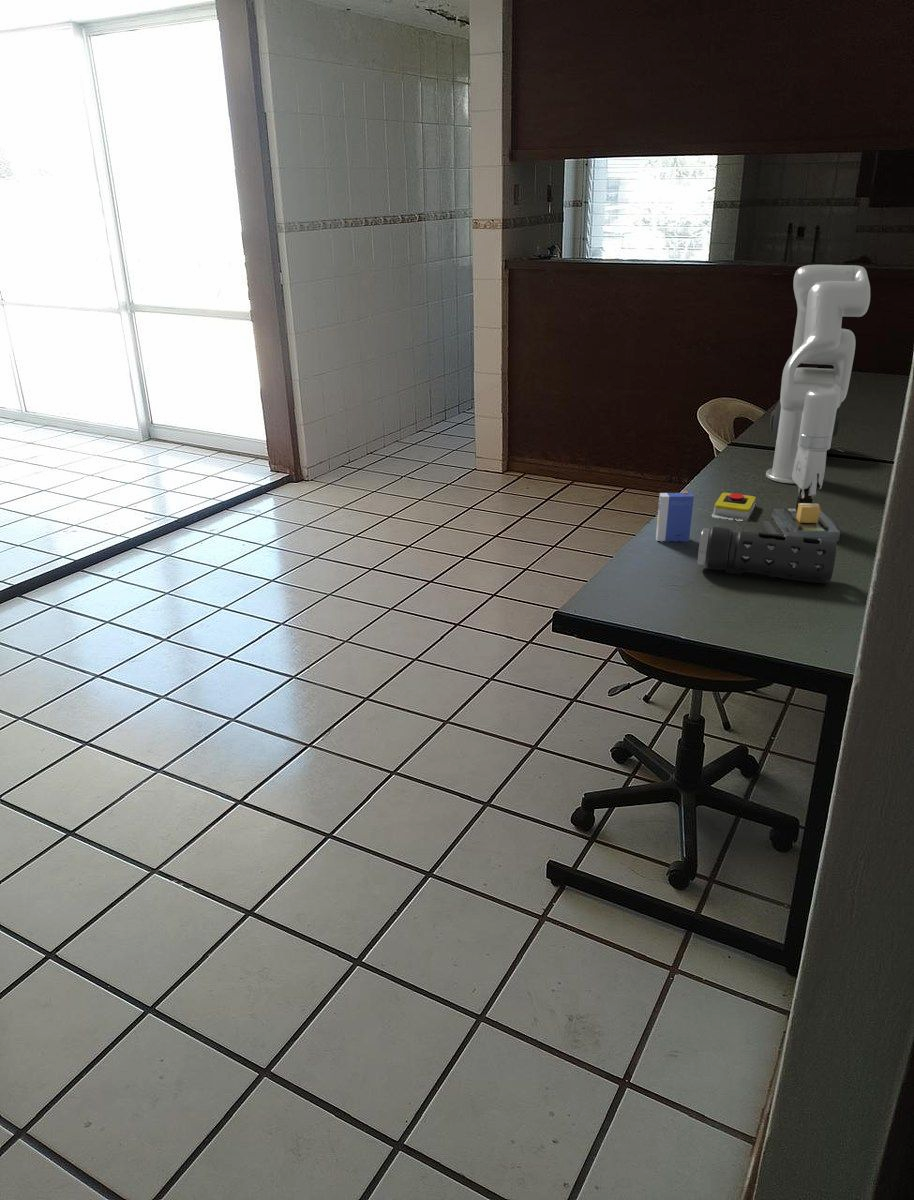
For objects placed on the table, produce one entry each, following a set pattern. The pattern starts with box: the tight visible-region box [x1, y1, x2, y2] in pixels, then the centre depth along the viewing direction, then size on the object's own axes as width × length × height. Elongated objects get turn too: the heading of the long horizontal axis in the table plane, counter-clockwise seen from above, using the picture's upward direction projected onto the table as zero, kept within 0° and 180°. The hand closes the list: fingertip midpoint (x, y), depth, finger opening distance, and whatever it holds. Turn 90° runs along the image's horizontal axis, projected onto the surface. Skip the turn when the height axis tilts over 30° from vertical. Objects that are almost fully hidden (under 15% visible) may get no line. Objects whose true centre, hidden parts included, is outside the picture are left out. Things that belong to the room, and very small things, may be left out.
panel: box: [771, 508, 841, 543], centre depth 225 cm, size 16×12×3 cm
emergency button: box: [711, 492, 757, 522], centre depth 238 cm, size 9×4×15 cm
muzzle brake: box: [697, 525, 837, 585], centre depth 199 cm, size 10×28×10 cm, turn 71°
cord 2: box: [826, 515, 840, 530], centre depth 227 cm, size 8×1×1 cm, turn 177°
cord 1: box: [762, 520, 779, 534], centre depth 222 cm, size 14×1×1 cm, turn 177°
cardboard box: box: [796, 502, 821, 523], centre depth 223 cm, size 3×4×4 cm
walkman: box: [655, 491, 694, 543], centre depth 218 cm, size 8×3×12 cm, turn 89°
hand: (802, 512), depth 227 cm, fingers closed
